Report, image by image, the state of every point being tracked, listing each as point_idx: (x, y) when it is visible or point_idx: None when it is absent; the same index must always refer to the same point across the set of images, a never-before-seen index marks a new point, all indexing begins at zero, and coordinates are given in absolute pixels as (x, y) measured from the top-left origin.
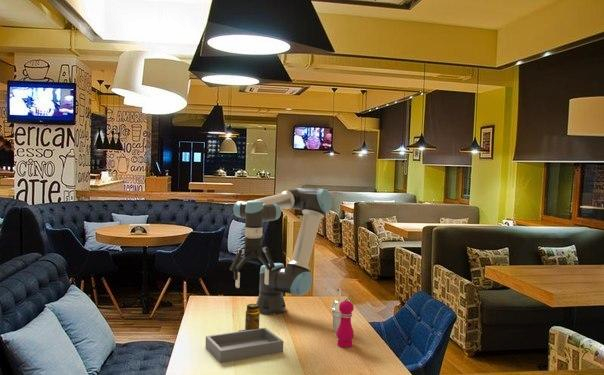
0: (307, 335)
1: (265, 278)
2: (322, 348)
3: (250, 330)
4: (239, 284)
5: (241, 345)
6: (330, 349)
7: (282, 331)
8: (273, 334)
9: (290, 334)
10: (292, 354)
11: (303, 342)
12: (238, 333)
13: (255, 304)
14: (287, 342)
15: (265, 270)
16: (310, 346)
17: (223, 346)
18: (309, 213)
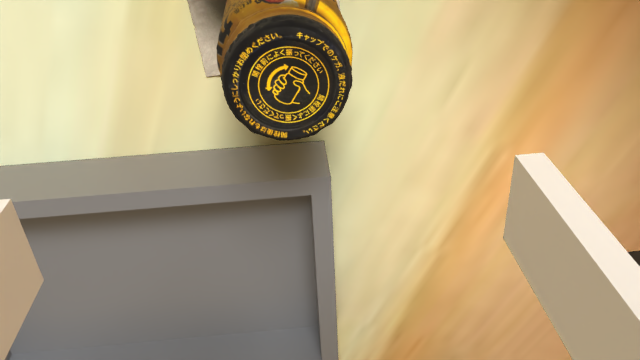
0: (582, 171)
1: (548, 242)
2: (526, 330)
3: (210, 198)
4: (23, 316)
5: (137, 245)
6: (550, 345)
7: (489, 61)
8: (329, 288)
9: (503, 128)
10: (362, 351)
11: (494, 252)
12: (120, 207)
13: (326, 60)
14: (416, 231)
15: (633, 352)
16: (492, 300)
17: (27, 231)
18: None
